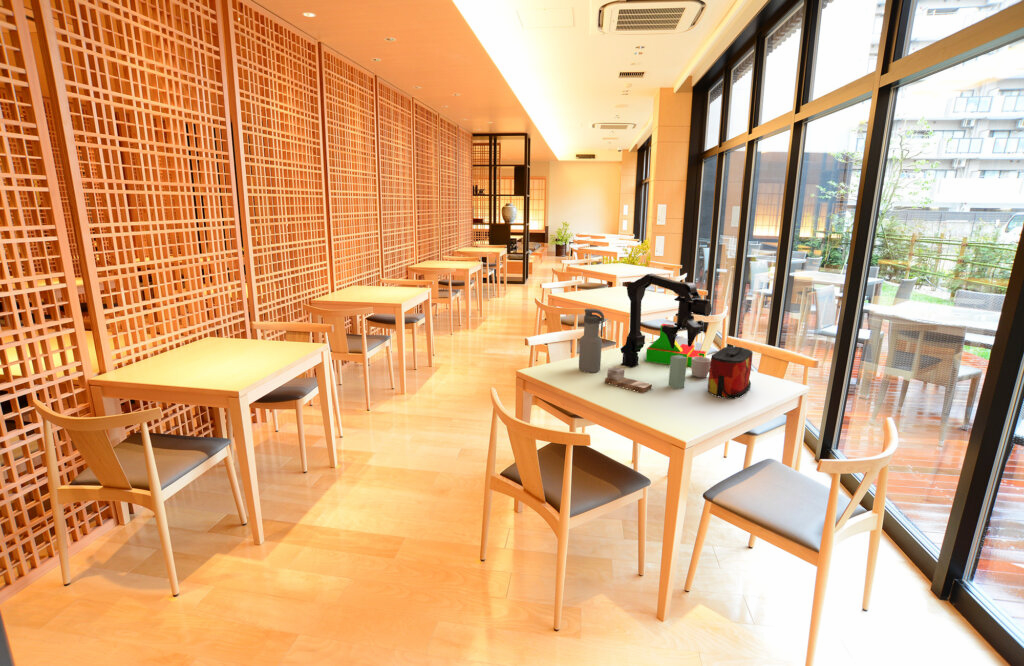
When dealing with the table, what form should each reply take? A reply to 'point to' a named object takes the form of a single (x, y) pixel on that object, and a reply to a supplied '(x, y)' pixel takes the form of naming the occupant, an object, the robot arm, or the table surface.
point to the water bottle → (591, 342)
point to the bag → (730, 372)
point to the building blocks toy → (670, 350)
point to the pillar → (677, 371)
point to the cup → (700, 366)
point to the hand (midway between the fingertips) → (680, 347)
